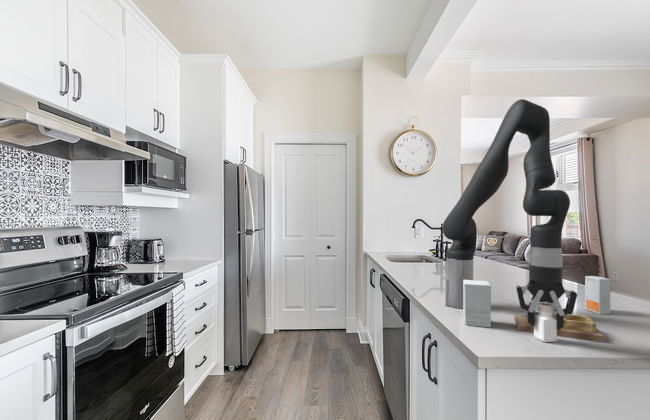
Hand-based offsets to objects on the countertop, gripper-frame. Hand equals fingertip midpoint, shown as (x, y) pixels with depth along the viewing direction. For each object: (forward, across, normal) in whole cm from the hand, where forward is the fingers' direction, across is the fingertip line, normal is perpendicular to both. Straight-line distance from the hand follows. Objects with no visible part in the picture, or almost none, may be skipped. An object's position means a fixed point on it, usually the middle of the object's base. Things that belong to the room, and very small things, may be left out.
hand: (545, 326), depth 90 cm
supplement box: (+4, -17, +7) cm, 19 cm away
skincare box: (+4, +21, +40) cm, 45 cm away
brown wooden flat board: (+3, +4, +11) cm, 12 cm away
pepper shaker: (+4, 0, 0) cm, 4 cm away
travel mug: (+4, +4, +26) cm, 27 cm away
